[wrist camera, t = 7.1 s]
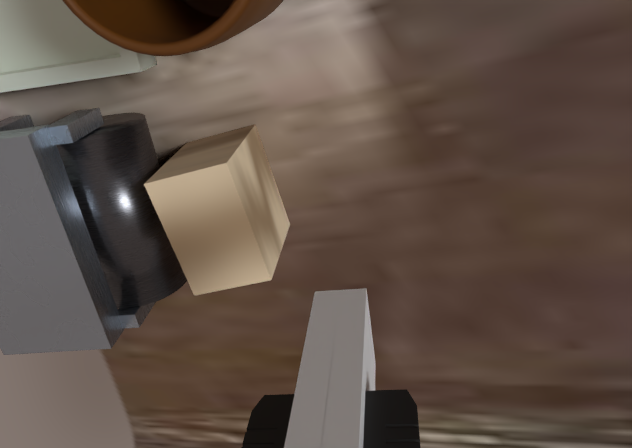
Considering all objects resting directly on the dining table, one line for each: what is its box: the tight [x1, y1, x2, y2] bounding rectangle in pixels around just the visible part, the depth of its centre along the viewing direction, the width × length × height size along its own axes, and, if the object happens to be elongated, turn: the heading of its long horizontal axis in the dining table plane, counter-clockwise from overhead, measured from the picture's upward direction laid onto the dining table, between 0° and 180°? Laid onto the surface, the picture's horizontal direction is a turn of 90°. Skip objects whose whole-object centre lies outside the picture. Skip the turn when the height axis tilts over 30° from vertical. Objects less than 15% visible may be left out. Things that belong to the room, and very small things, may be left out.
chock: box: [144, 125, 290, 296], centre depth 27 cm, size 6×4×6 cm, turn 17°
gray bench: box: [0, 108, 187, 355], centre depth 28 cm, size 11×9×7 cm
